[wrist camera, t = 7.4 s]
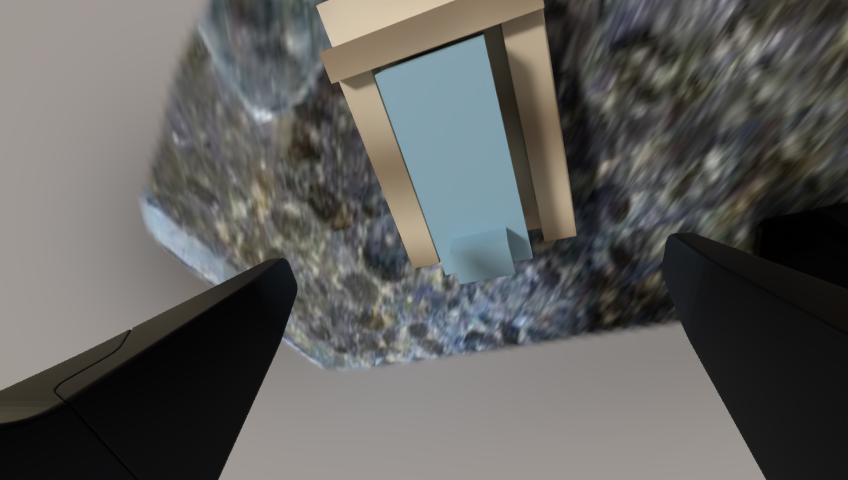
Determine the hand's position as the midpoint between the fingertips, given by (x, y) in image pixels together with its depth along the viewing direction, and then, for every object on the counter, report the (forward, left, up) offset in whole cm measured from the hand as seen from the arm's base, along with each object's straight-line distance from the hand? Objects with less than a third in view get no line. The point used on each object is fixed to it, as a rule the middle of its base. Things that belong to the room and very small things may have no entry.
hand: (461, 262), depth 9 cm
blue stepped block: (0, 0, -11) cm, 11 cm away
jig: (+1, 0, -12) cm, 12 cm away
